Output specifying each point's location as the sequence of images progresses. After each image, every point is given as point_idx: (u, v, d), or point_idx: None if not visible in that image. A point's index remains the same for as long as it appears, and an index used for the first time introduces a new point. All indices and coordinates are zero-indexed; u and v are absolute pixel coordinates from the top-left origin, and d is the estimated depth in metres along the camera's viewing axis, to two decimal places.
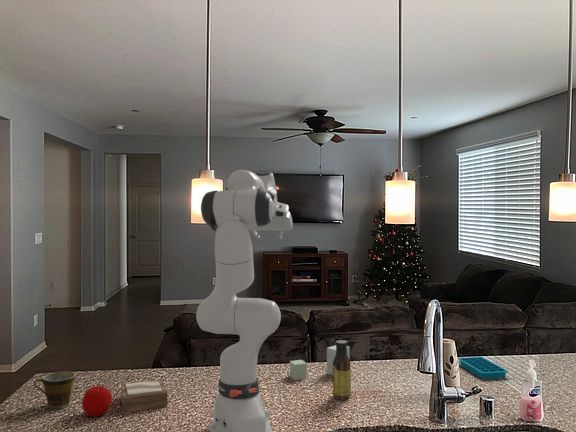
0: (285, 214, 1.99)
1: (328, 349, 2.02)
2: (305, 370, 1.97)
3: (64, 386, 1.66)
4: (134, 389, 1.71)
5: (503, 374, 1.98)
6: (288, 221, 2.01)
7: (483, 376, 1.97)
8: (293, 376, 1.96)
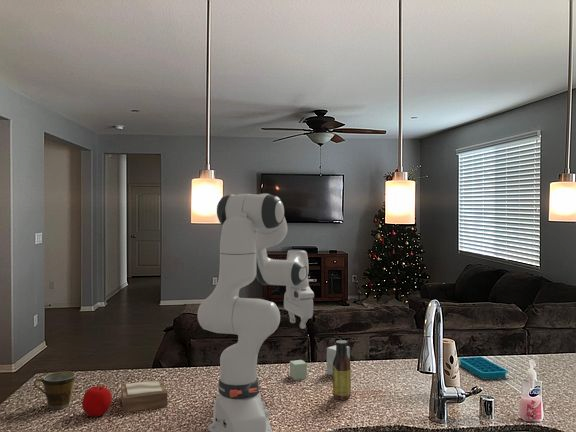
0: (298, 296, 1.90)
1: (328, 349, 2.02)
2: (305, 370, 1.97)
3: (64, 386, 1.66)
4: (134, 389, 1.71)
5: (503, 374, 1.98)
6: (301, 306, 1.89)
7: (483, 376, 1.97)
8: (293, 376, 1.96)
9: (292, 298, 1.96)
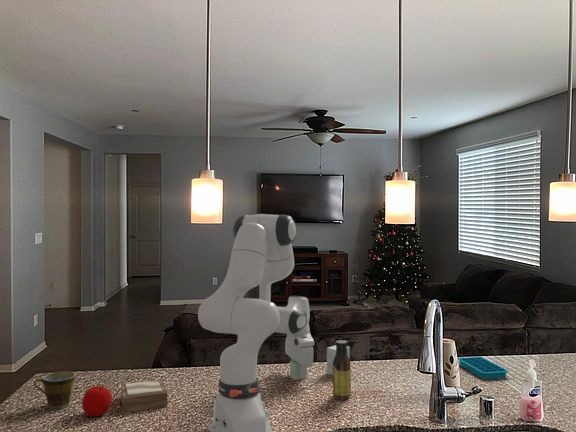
0: (299, 344, 1.89)
1: (328, 349, 2.02)
2: (305, 370, 1.97)
3: (64, 386, 1.66)
4: (134, 389, 1.71)
5: (503, 374, 1.98)
6: (302, 354, 1.89)
7: (484, 376, 1.97)
8: (293, 376, 1.96)
9: (293, 345, 1.96)
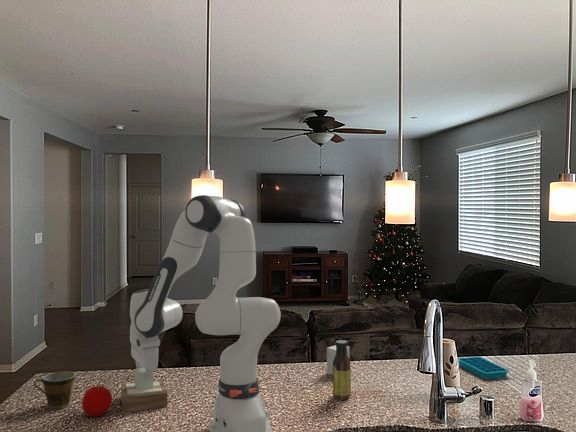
0: (140, 345, 1.64)
1: (328, 349, 2.02)
2: (151, 378, 1.72)
3: (64, 386, 1.66)
4: (134, 389, 1.71)
5: (504, 374, 1.98)
6: (144, 356, 1.64)
7: (485, 376, 1.97)
8: (137, 386, 1.71)
9: (136, 346, 1.70)
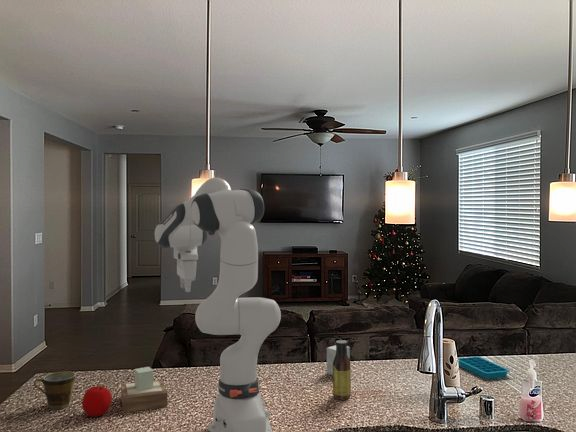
0: (180, 257, 1.84)
1: (328, 349, 2.02)
2: (151, 378, 1.72)
3: (64, 386, 1.66)
4: (134, 389, 1.71)
5: (505, 374, 1.99)
6: (183, 267, 1.83)
7: (486, 376, 1.97)
8: (137, 386, 1.71)
9: (178, 261, 1.90)
